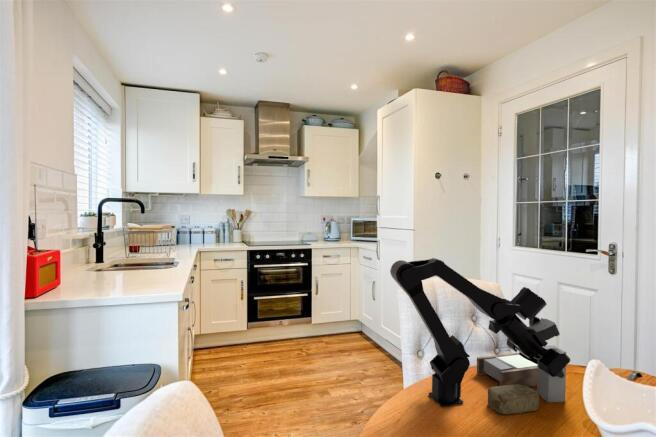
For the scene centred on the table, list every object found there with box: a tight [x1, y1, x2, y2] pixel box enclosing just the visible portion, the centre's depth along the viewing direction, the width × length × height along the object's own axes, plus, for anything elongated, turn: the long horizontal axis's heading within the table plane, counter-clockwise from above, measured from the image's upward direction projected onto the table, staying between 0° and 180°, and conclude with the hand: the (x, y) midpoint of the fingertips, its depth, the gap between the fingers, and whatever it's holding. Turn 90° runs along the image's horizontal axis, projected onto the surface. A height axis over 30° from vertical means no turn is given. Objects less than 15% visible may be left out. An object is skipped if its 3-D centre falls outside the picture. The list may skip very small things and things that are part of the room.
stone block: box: [487, 384, 540, 415], centre depth 90 cm, size 6×12×5 cm, turn 102°
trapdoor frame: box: [476, 352, 537, 388], centre depth 106 cm, size 15×11×5 cm
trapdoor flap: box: [484, 355, 537, 382], centre depth 106 cm, size 14×8×4 cm, turn 106°
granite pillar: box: [536, 345, 567, 403], centre depth 96 cm, size 5×5×13 cm
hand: (556, 372), depth 96 cm, fingers closed on granite pillar, 5 cm apart
